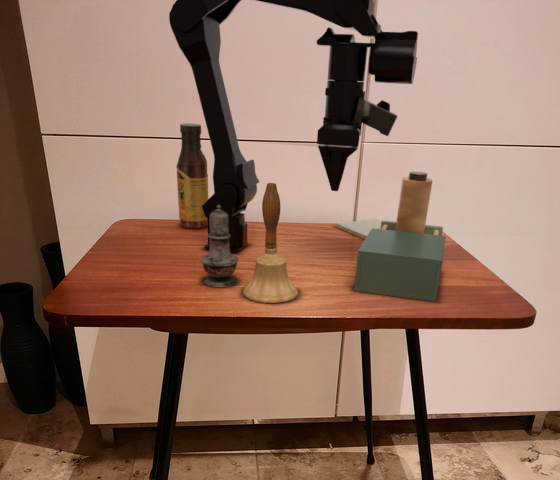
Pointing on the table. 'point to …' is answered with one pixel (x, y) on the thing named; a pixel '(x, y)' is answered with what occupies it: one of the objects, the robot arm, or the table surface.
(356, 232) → the tile
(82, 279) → the table surface
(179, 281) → the table surface
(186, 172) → the sauce bottle
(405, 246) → the cabinet
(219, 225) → the salt shaker
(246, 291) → the hand bell
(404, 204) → the pepper mill
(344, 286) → the table surface
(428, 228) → the drawer
